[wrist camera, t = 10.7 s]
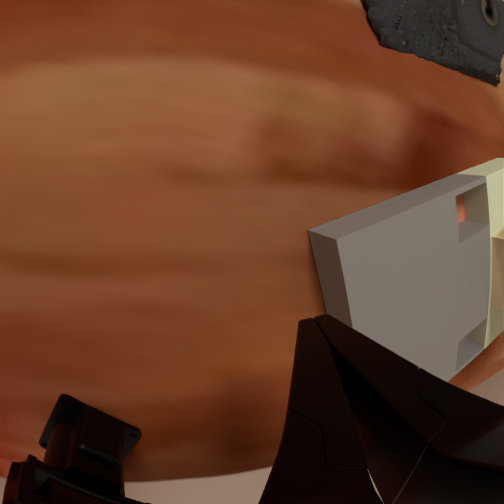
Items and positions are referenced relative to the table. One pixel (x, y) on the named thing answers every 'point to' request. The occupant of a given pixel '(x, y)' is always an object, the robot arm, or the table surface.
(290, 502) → the robot arm
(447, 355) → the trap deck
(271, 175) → the table surface
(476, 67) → the dark slate chunk
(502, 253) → the maple block
